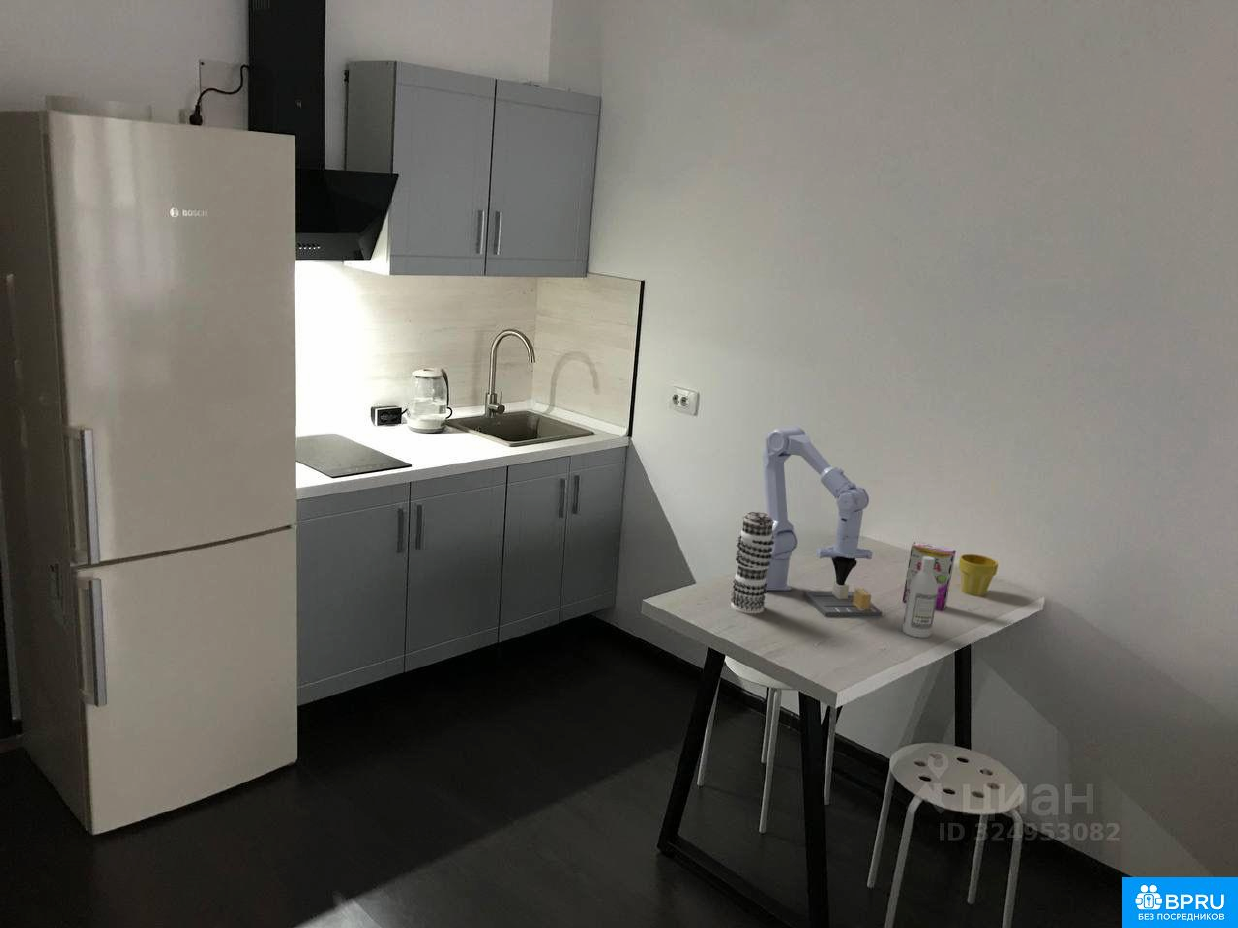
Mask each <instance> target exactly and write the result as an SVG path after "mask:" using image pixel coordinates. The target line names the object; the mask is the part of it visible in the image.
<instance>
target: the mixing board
mask: <svg viewBox="0 0 1238 928" xmlns="http://www.w3.org/2000/svg"><path fill="white" fill-rule="evenodd" d="M854 593H855V591H849V592H848V598H847V599H838V598H837V597H836V596H835V595H834V594H833V593H832V590H831V591H825V590H824V591H821V590H820V591H819V590H816V591H815V590H814V591H813V590H812V591H809V590H807V591H805V590H803V592H802V596H803V597H804V598H805V599H806V600H807V601H808V602H809V603H811V605H812V606H813V607H815V608H816V609H817V610H818V611H819V612H820V614H822V615H823V616H824V617H864V618H865V617H871V618H872V617H873V618H874V617H876V618H877V617H879V618H880V617H881V618H882V617H883V611H882V610H881V609H879V607H877V606H876V605H875V604H873V603H872V602H871V601H870V607H869V610H868V609H859V608H858V607H857V606H856V605H855V604H853V600H854Z"/></svg>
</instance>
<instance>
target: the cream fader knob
mask: <svg viewBox="0 0 1238 928" xmlns="http://www.w3.org/2000/svg"><path fill="white" fill-rule="evenodd" d="M849 590H850V584H849V583H848V582H847V581H845V584H844V585H838V584H837V583H836V578H833V583H832V590H831V591H832V593H833V594H834V595H835V596H836V597H837V598H838V599H847V598H848V592H850V591H849Z"/></svg>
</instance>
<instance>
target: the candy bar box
mask: <svg viewBox="0 0 1238 928" xmlns="http://www.w3.org/2000/svg"><path fill="white" fill-rule="evenodd" d="M910 550H911V551H910V555H909V561H908V567H907V572H906V577H905V578H906V579H905V584H904V591H903V595H902V602H903V603H907V597H908V591H909V586H910V583H911V581H912V579H913V578H914V577H915V575H916V574H917V573H918V572H919V571H920V570H921V564H922V558H923V556H930V557H933V558H934V559H935V561H934V567H933V575H934V577H935V579H936V581H937V584H938V595H937V601H936V607H935V610H937V611H938V610H939V611H942V612H943V611H944V610H945V608H946V606H947V602H948V596H949V591H950V584H951V579H952V575H953V574H952V573H953V568H954V561H955V556H956V552H957V551H956V549H952V548H947V547H943V546H939V545H934V544H929V543H924V542H918V541H914V542H913V544H912V545H911V548H910Z"/></svg>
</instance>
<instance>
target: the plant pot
mask: <svg viewBox="0 0 1238 928" xmlns="http://www.w3.org/2000/svg"><path fill="white" fill-rule="evenodd" d="M998 567H999V563H998V560H996V559H994V558H992V557H988V556H986V555H983V554H982V555H981V554H973V553H966V554H965V553H964V554H962V555H960V557H959V562H958V569H959V570H960V581H961V582H960V583H961V585H960V586H961V587H960V589H961V591H962V592H963V593H965V594H968V595H970V596H976V597H977V596H978V597H981V596H984V595H986V594H987V591H988V590H989V586H990V585H991V583H992V580H993V578H994V576H996V575H997V573H998V572H997V571H998V569H999V568H998Z"/></svg>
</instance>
